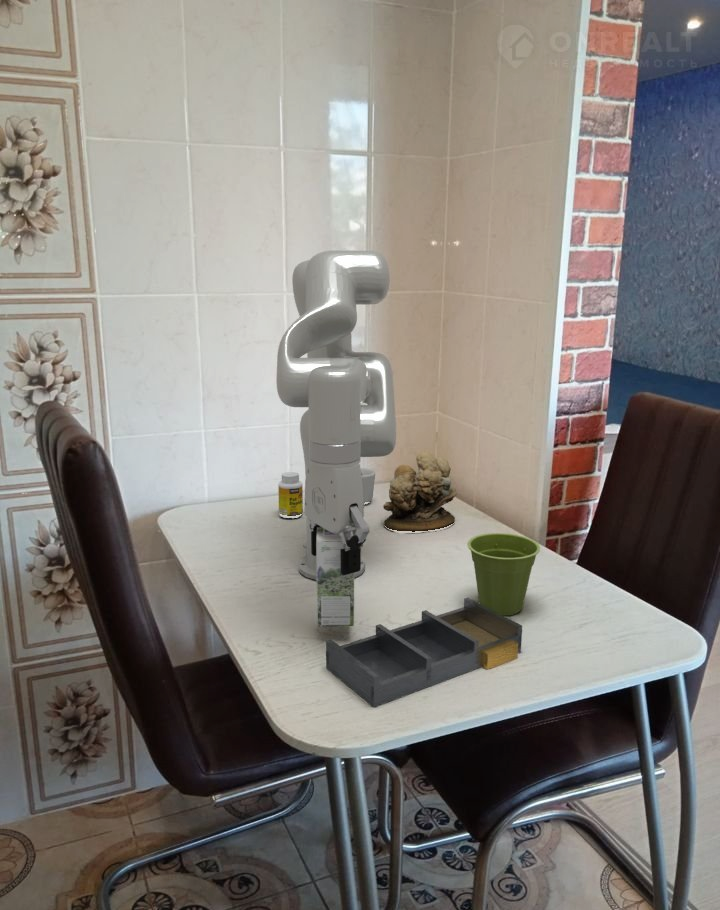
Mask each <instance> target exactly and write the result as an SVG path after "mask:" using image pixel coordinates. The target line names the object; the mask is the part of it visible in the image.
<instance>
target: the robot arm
mask: <svg viewBox="0 0 720 910" xmlns="http://www.w3.org/2000/svg"><path fill="white" fill-rule="evenodd" d="M390 277H391V276H390V268H389V265H388V262H387V260H386V258H385V257H384V256H383V254H381V253H380V252H378V251H374V250H326V251H321V252H318V253H317V254H315V255H313V256H312V257H311V258H310V259H307V260H305V261H302V262H300V263H298V264H297V265H295V268H294V270H293V272H292V277H291V279H292V292H293V297H294V298H293V299H294V303H295V306H296V310H297V313H298V316H299V317H298V318H297V319H296V320H294V322H293V323H292V324H291V325H290V326H289V327H288V328H287V329H286V330H285V332H284V334H283V335H282V336H281V339H280V342H279V344H278V350H277V355H276V357H277V359H276V360H277V361H276V390H277V395H278V397H279V399H280V401H281V402H282V404H283V405H286V406H288V407H291V408H308V409H307V410H306V411H305V412H303V414H302V416H301V417H300V422H299V433H300V440H301V447H302V451H303V459H304V469H305V470H304V472H305V481H304V482H305V483H304V499H303V500H304V501H303V502H304V515H305V518H306V520H305V521H306V540H304V541H303V542H302V547H303V548H304V549H305V550H306V556H305V557H303V558H302V559H301V560H300V561H299V563H298V570H299V572H300V573H301V575H302V574H303V575H302V576H304V577H305V578H309V579H310V580H314V581H317V560H316V536H317V527H322V528H324V529H326V530H328V531H329V532H331V533H333V534H339V535H340V538H341V542H342V545H343V548H344V549H340V558H341V574H342V575H348V574H351V573H354V579H355V578H357V577H359V576H361V575H362V574H363V573H364V572H365V570H366V562H365V560H364V559H363V558H361V556H362V553H361V552H362V549H361V548H363V546H364V543H365V542H366V540H367V537H368V535H369V534H370V530H371V529H370V526H369V525H368V523H367V522H366V520H365V518H364V517H365V514H364V513H365V510H364V509H365V507H364V506H365V505H364V500H363V485H362V475H361V469H360V468H361V464H360V463H361V458H375V457H376V458H378V457H387V456H388V455H390V454H391V453H392V452H393V451H394V450H395V447H396V442H397V423H396V422H397V421H396V405H395V389H394V376H393V369H392V365H391V363H390V360H389V359H388V357H387V356H386V355H385V354H382V353H380V352H374V351H370V352H369V351H368V352H367V351H361V352H360V351H353V349H352V348H353V347H352V345H353V344H352V332H353V331H354V330H355V328H356V325H357V322H358V312H357V305H359V306H360V305H364V306H365V305H367V306H369V305H377V304H379V303H381V302H382V301H384V299H386V297H387V296H388V292H389V289H390V282H391V281H390V280H391V278H390ZM306 354H307V356H306V357H303V356H305V355H306ZM346 527H348V528H346ZM349 532H352V533H353V536H352V537H351V538H350V540H348V537H347V533H349Z"/></svg>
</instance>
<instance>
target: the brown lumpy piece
mask: <svg viewBox="0 0 720 910" xmlns="http://www.w3.org/2000/svg"><path fill="white" fill-rule="evenodd" d="M415 461H416V464H417V468H418V471H415V469H414V468H413V467H411V466H410V465H407V464H402V465H399V466H397V467H396V468H395V470H394V474H393V475H394V477H393V478H392V479H391V480H390V482H389V489H388V498H389V500H390V501H385V503H384V504H383V509H384V510H385V511H386V512H391V514H390V515H389V516H388V517H387V518H386V519H385V520H384V522H383V526H384V525H385V526H386V527H387V528H389V529H392V530H397V531H412V532H415V531H428V530H435V529H440V528H444V527H447V526H449V525H451V524H453V523H454V522H455V521H456V518H455V516H454V515H453V514H452V513H451V512H450V511H448V510H447V509H445V508H444V507H443V506H444V505H446V504H449V503H450V502H452V501H453V500H454V498H455V497H456V496H457V495H458V493H457V491H456V488H455V487H451V485H452V478H451V477H450V474H451V471H452V470H451V466H450V465H449V464H450V463H449V462H448V460H447V459H445V458H443V457H439V456H438V457H436V456H434V454H433V453H431V452H426V451H421V452H419V453H418V454H417V455H416V460H415ZM454 524H455V523H454ZM454 524H453V525H454Z"/></svg>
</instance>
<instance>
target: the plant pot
mask: <svg viewBox="0 0 720 910" xmlns="http://www.w3.org/2000/svg"><path fill="white" fill-rule="evenodd" d="M467 548H468V549H469V550H470V553H471V559H472V562H473V566H474V567H473V568H474V573H475V582H476V589H477V597H478V603H480V604H482V605H484V606H485V607H487V608H489V609H491V610H493V611H495V612H497V613H499V614H501V615H503V616H506V617H507V616H513V615H516V614H517V613H518V612H521V611H522V610H523V608H524V602H525V598H526V594H527V591H528V586H529V580H530V577H531V573H532V569H533V566H534V564H535V561H536V557H537V555H538V554H539V553H540V552H541V547H540V544H539V543H538V542H537V541H535V540H534V539H532V538H529V537H527V536H524V535H523V536H522V535H518V534H514V533H509V532H508V533H506V532H490V533H482V534H478V535H476V536H473V537H471V538H470V539H468V541H467Z"/></svg>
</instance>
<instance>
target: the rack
mask: <svg viewBox="0 0 720 910" xmlns="http://www.w3.org/2000/svg"><path fill="white" fill-rule="evenodd" d="M522 636H523V625H522V624H521V623H518V622H516V621H514V620H513V619H510V618H508V617H507V616H506V615H501V614H499V613H497V612H495V611H493V610H491V609H489V608H487V607H485V606H484V605H482V604H480V603H479V601H476V600H474V599H472V598H470V597H464V598H463V607H461V608H460V607H459V608H457V609H456V608H455V609H454V610H451V611H450V610H449V611H447V612H444V613H441V614H438V615H435V614H433V613H432V612H429V611H428V610H426V609H425V610H422V611H421V620H419V621H415V622H411V623H409V624H405V625H403V626H399V627H396V628H393V629H389V628H388V627H385V626H384V625H383V624H376V625H375V634H373V635H370V636H367V637H364V638H361V639H358V640H354V641H351V642H347V643H345V644H342V645H339V644H338V643H336V642H335V641H334V640H333V639H331V638H329V639H326V640H325V664H326V665H325V666H326V667H325V668H326V669H327V670H328V671H329V672H330V673H332V674H333V676H335V677H336V678H338V679H339V680H340V681H341V682H343V683H344V684H345V685H346V686H347V687H348V688H350V689H351V690H352V691H353V692H354V693H356V694H357V695H358V696H359V697H360V698H361V699H363V700H364V701H365V702H367V703H368V704H369V705H370V706H372V707H373V708H376V707H380V706H382V705H385V704H387V703H390V702H392V701H395V700H398V699H400V698H403V697H406V696H408V695H412V694H414V693H416V692H419V691H422V690H424V689H427V688H429V687H432V686H435V685H438V684H440V683H442V682H445V681H447V680H451V679H454V678H456V677H458V676H459V677H460V676H461V675H464V674H467V673H470V672H471V671H475V670H477V669H480V668H483V669H486V670H490V669H492V668H496V667H498V666H501V665H503V664H506V663H508V662H511V661H513V660H516V659H518V658H519V656H518V654H520V653H522V640H523V639H522Z"/></svg>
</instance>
